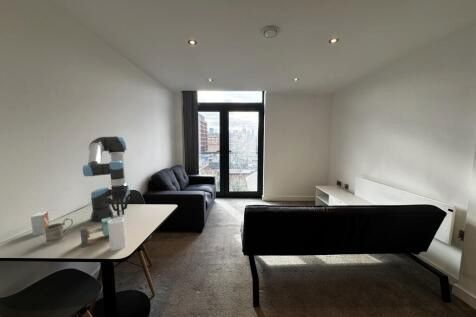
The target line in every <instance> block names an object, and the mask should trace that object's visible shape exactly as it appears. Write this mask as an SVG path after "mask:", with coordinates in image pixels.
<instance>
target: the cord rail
mask: <svg viewBox="0 0 476 317" xmlns="http://www.w3.org/2000/svg"><path fill="white" fill-rule="evenodd" d="M79 230H80V231H79V232H80V239H81V240H80V241H81V248H87V247H90V246H93V245H96V244H100V243H104V242H106V241H109V235H108V236H105V237H104V235H103V234H102V235H100V236H97V237H93V238H91V236H90V235H93V234H97V233H100V232H101V233H102V232H103V228H102V227H100V228H95V229H92V230H90V228H89V227H88V228H87V226H82V227H80V228H79Z"/></svg>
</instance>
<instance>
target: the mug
mask: <svg viewBox="0 0 476 317" xmlns="http://www.w3.org/2000/svg"><path fill="white" fill-rule="evenodd" d="M69 220H70V221H71V224H70V225H69V226H68V227H66V228H65V229H64V226H65V225H66V223H65V222H66V221H69ZM73 222H74V221H73V219H71V218H69V217H66V218H64V220H63V222H59V223H54V224H49V226H47V227H45V232H46V233H45V238H46V241H45V242H44V245H45V246H53V245H57V244H60V243H62V242H64V241H66V239H67V237H66V236H65V232H66V231H67V229H69V228H70V227H72V225H73Z"/></svg>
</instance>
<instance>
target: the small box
mask: <svg viewBox="0 0 476 317" xmlns="http://www.w3.org/2000/svg"><path fill="white" fill-rule="evenodd" d="M49 219H50V218H49V212H48V211H42V212H36V213H35V214H33V215H31V216H30V221H31V228H32V236H33V237H35V236H40V235H46V232H45V227H47V226H49V225H50V220H49Z"/></svg>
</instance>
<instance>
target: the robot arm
mask: <svg viewBox="0 0 476 317" xmlns="http://www.w3.org/2000/svg"><path fill="white" fill-rule="evenodd" d="M88 151H89V155H88V161H87V164H84V165H83V166H82V174H83V177H94V176H95V177H97V176H105V175H110V184H111V185H110V186H111V187H110V188H111V189H110V188H109V187H102V188H98V189H95V190H93V191H92V192H91V193H90V199H91V208H92V212H91V215H90V221H91V222H95V223H96V222H102V220H101V219H104V218H108V217H111V219H113V218H114V212H116V215H117V217H118V218H124V215H125V210H127V208H128V204H129V200H130V197H131V194H130V193H131V190H130V189H131V187H130V186H128V183H126V173H125V165H124V164H125V163H124V162H125V161H124V154H126V153H125V152H126V151H127V146H126V141H125V138H124V137H123V136H99V137H97V138H95V139H93V140H92V141H91V142H89V145H88ZM103 152H108V155H110V159H111V161H109V162H107V163H102V162H103V160H102V158H103ZM115 204H116V205H115ZM111 207H112V208H111Z"/></svg>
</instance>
